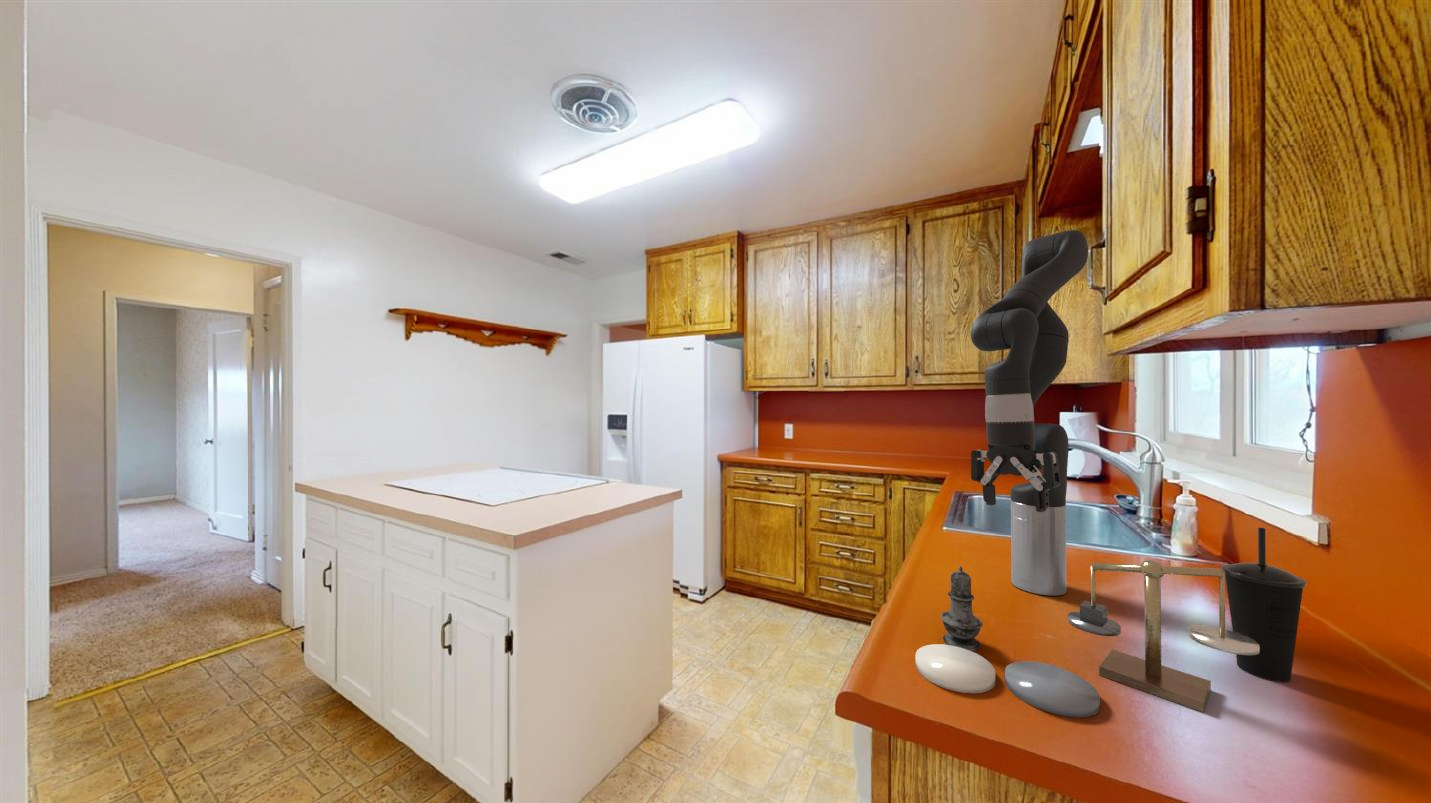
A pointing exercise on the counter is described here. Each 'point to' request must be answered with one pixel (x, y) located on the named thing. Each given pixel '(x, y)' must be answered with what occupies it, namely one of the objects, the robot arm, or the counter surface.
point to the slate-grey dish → (1052, 689)
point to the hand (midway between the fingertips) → (1015, 508)
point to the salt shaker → (961, 614)
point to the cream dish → (955, 668)
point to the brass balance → (1159, 637)
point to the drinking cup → (1265, 613)
